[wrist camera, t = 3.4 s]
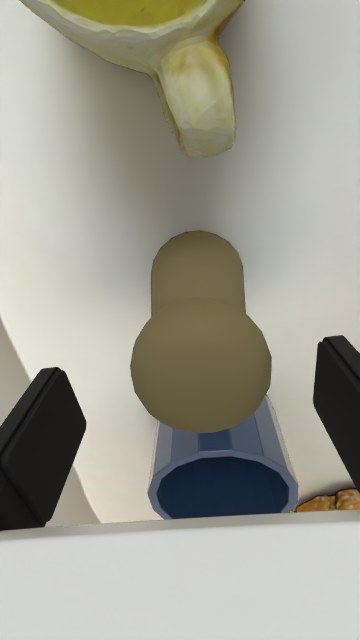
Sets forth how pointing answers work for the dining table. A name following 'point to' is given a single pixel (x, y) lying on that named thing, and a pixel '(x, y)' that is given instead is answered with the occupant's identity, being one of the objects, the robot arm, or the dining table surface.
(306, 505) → the bagel
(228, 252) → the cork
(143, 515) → the dining table surface
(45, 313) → the dining table surface
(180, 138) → the mug
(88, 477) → the dining table surface
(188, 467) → the crock
